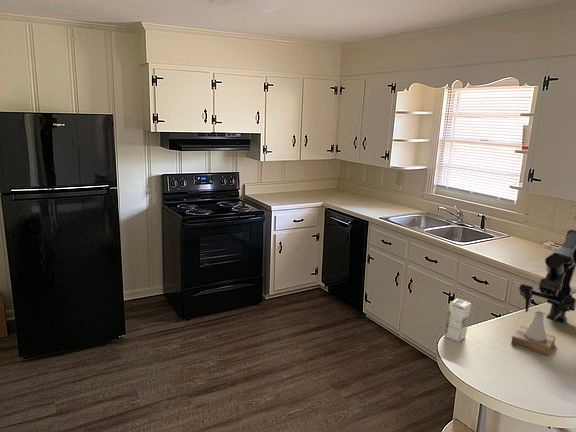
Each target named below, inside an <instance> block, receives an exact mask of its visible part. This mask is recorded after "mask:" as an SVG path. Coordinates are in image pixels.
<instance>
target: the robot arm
mask: <svg viewBox="0 0 576 432" xmlns="http://www.w3.org/2000/svg"><path fill="white" fill-rule="evenodd" d="M565 235H566V236H565V240H564V242H563V243H562V245H561V247H559V248H556V249H555V250H554V251H553V252H552V253H551V254H549V256H547V257H546V258H545V259H544V262H545V269H546V275H545V276H544V278H543V277H542V278H540V281H539V284H538V290H539V291H538V290H535V289H534V287H533V285H531V284H530V285H529V284H526V283H522V284H520V286H519V287H518V290H519V294H520V296H522V298H523V299H525V313H528V311H529V309H530V306H531V303H532V300H533V299H532V297H533V296H535V297H539V298H543V299H546V303H547V304H550V310H549V313H548V314H547V315H546V318H547V319H550V320H552V322H555V321H557V322H561V323H565V321H566V320H567V318H568V317H567V316H566V312H569V313H570V312H574V311H576V298H575V297H574V295H573V290H572V288H571V284H572V281H573V278H574V274H575V271H576V229H569V230H567V231H566V234H565Z"/></svg>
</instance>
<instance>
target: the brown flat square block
mask: <svg viewBox="0 0 576 432" xmlns="http://www.w3.org/2000/svg"><path fill="white" fill-rule="evenodd" d="M528 328H529V327H525V326H524V325H523V326H522V325H520V327H518V328H517V330H516V331H515V332H514V333H513V335H512V336H511V337H512V338H511V342H510V343H511V344H512V345H513V344H514V346H517V347H519V346H520V348H522V347H523V349H525V348H526V349H525V350H528V349H529V350H528V351H531V352H534V353H536V354H541V355H543V356H546V357H547V356H549V354H550V352H551V350H552V349H551V348H553V347H554V346H555V341H556V336H554V335H551V334H547V333H545V334H546V338H547V339H546V340H545V341H541V342H537V341H534V340H531V339H529V338H527V337H526V336H525V335H524V334H525V332H526V331H527V329H528Z"/></svg>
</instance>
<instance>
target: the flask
mask: <svg viewBox="0 0 576 432" xmlns="http://www.w3.org/2000/svg"><path fill="white" fill-rule="evenodd" d="M545 315H546V314H545V312H543V311H541V310H536V311H534V318H533V320H532V322H531V324H530V325H529V326H528V327H527V328H528V329H527V331H526V332H525V334H524V335H525V336H526V337H527V338H529V339H531V340H534V341H537V342H541V341H545V340H546V339H547V338H546V334H547V333H546V330H545V325H544V316H545Z"/></svg>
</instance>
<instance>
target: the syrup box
mask: <svg viewBox="0 0 576 432" xmlns="http://www.w3.org/2000/svg"><path fill="white" fill-rule="evenodd" d="M471 307H472V303H471V302H469V301H466V300H463V299H460V298H455V299H454V300H452V301H450V303H449V307H448V312H447V319H446V326H445V331H444V337H445V338H446V339H449V340H452V341H454V342H457V343H459V342H461V341H462V340H464V339H465V338H466V335H467V329H468V324H469V318H470V313H471V312H470V311H471Z"/></svg>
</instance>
